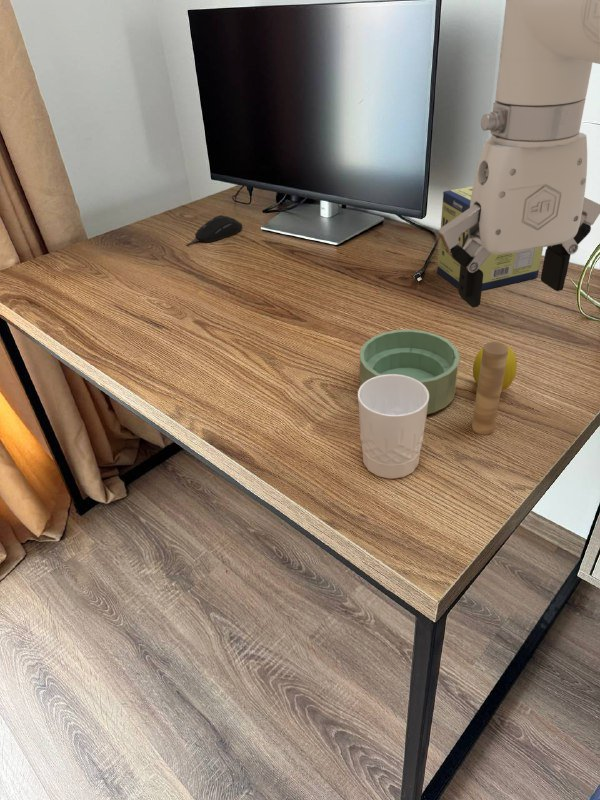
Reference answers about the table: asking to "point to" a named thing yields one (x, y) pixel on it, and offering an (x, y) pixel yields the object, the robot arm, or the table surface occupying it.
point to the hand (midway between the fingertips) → (510, 293)
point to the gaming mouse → (217, 229)
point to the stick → (489, 387)
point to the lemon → (509, 369)
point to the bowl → (414, 362)
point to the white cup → (392, 424)
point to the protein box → (496, 265)
